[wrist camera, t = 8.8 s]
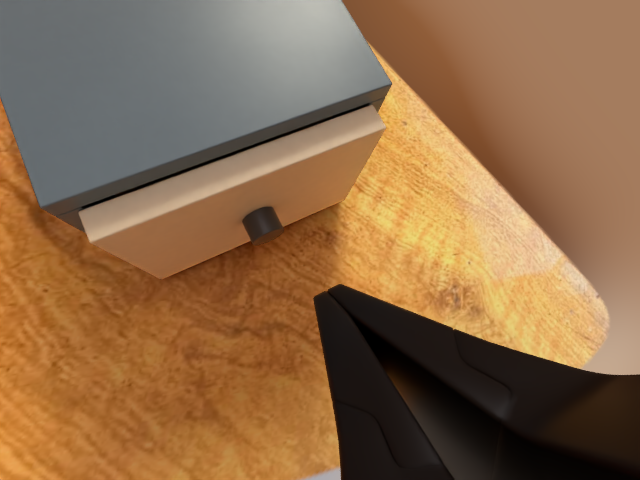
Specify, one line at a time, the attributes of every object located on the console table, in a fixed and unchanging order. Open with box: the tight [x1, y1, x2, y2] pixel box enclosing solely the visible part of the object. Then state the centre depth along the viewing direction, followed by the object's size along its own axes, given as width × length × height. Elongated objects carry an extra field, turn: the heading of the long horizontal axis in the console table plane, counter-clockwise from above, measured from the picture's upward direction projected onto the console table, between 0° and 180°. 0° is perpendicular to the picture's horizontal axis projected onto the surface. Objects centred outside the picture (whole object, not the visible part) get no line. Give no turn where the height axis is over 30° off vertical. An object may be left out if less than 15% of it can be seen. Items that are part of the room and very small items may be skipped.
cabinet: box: [0, 0, 392, 233], centre depth 18 cm, size 15×13×10 cm
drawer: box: [79, 105, 386, 279], centre depth 17 cm, size 15×11×8 cm
